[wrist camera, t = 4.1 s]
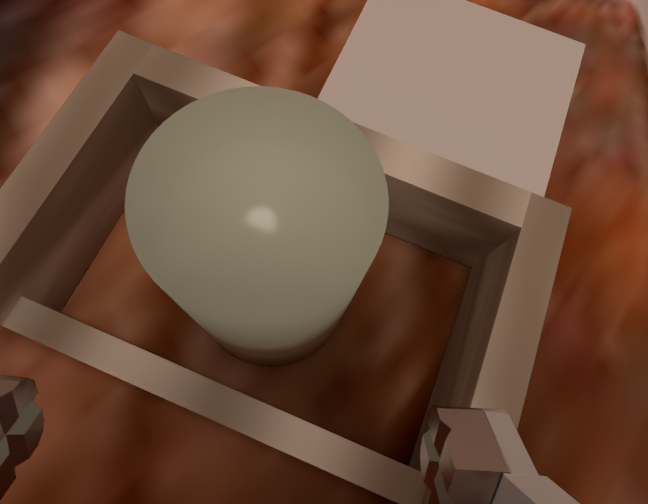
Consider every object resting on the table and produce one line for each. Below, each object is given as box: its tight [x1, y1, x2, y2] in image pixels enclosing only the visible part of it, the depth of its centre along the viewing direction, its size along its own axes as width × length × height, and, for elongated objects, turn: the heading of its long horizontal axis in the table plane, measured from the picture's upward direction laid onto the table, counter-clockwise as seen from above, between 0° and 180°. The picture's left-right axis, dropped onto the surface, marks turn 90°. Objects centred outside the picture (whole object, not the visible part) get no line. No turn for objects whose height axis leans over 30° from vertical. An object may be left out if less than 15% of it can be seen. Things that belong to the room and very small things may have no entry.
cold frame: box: [0, 30, 572, 504], centre depth 18 cm, size 19×12×5 cm, turn 68°
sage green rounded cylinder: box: [125, 86, 389, 366], centre depth 16 cm, size 6×6×10 cm
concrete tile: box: [318, 0, 586, 197], centre depth 24 cm, size 12×12×1 cm
